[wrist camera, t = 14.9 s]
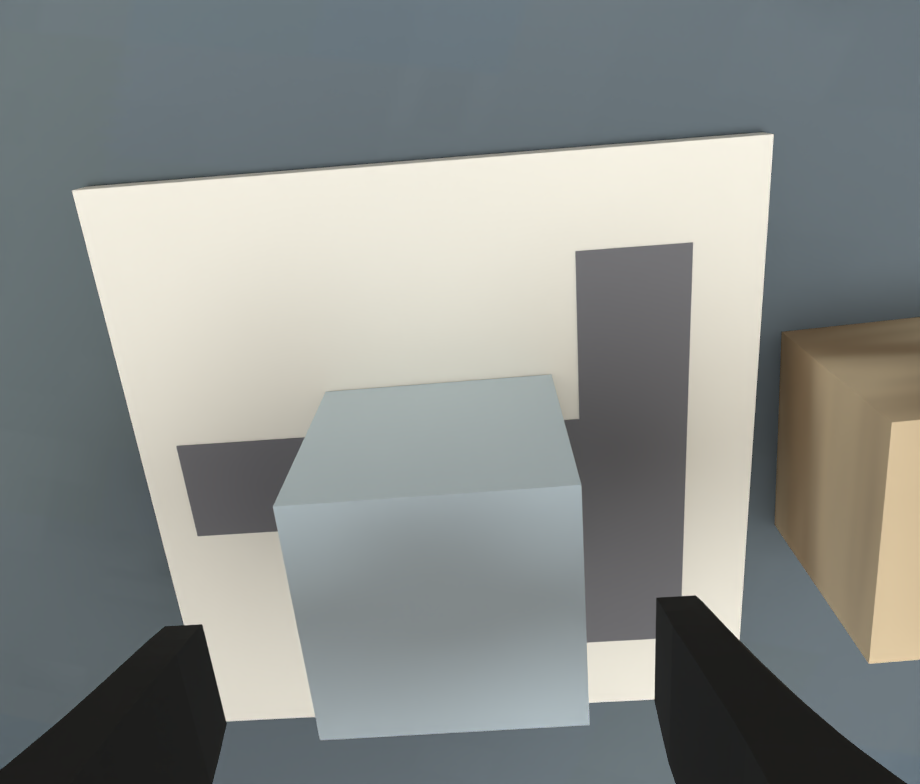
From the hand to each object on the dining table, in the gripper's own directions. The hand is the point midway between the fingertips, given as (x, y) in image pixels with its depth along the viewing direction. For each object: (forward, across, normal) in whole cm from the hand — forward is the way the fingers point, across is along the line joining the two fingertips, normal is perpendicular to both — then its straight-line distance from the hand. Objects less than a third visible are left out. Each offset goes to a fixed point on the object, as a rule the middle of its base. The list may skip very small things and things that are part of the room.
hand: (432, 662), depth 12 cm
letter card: (+7, 0, 0) cm, 7 cm away
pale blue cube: (+6, 0, 0) cm, 6 cm away
